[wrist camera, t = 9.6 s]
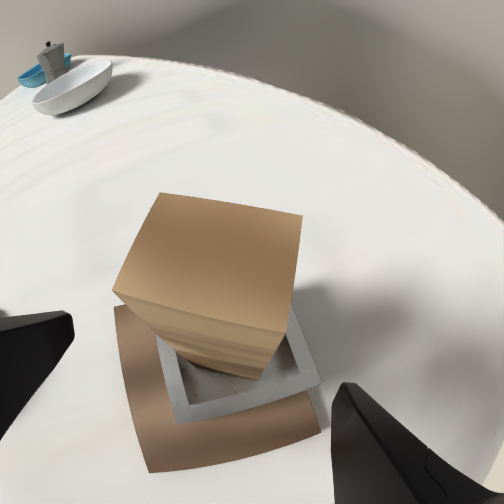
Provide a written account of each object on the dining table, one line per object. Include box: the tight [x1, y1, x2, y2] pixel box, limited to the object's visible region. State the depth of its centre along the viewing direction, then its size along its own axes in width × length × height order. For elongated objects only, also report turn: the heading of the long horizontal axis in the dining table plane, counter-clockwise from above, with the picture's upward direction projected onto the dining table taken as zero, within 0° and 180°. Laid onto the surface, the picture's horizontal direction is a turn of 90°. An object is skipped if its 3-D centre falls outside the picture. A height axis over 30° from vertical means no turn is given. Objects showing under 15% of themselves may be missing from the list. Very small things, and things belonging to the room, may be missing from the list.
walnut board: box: [114, 304, 321, 473], centre depth 18 cm, size 14×13×1 cm
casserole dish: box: [18, 53, 71, 87], centre depth 66 cm, size 37×22×7 cm, turn 57°
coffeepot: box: [37, 41, 68, 85], centre depth 47 cm, size 15×9×18 cm, turn 23°
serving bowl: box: [32, 60, 112, 115], centre depth 43 cm, size 21×21×7 cm
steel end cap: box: [155, 304, 322, 425], centre depth 17 cm, size 8×8×4 cm
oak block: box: [112, 193, 303, 381], centre depth 13 cm, size 4×4×13 cm
